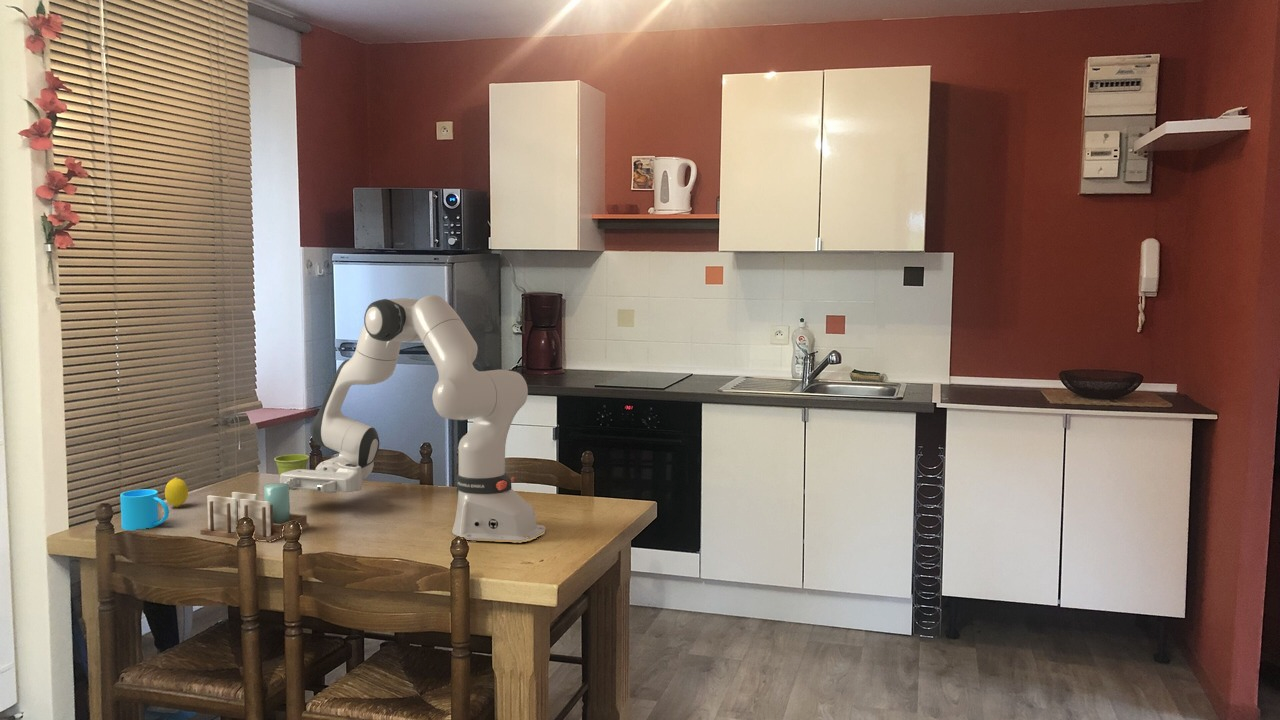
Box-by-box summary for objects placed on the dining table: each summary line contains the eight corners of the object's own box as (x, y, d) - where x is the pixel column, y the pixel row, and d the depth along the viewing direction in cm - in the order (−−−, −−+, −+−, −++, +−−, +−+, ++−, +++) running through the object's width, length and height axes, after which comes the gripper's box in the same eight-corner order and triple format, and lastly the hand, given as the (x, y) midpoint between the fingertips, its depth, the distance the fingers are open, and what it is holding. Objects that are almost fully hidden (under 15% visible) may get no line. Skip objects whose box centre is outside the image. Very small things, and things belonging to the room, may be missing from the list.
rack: (308, 527, 246) (307, 491, 245) (270, 542, 233) (269, 504, 232) (241, 519, 252) (240, 484, 251) (200, 534, 239) (199, 496, 238)
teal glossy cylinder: (295, 524, 244) (293, 484, 243) (280, 530, 239) (278, 489, 238) (276, 522, 246) (274, 482, 245) (260, 528, 241) (259, 487, 240)
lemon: (169, 511, 260) (167, 480, 259) (162, 507, 264) (161, 477, 263) (191, 507, 263) (190, 477, 262) (184, 503, 267) (183, 474, 267)
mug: (113, 529, 243) (112, 496, 242) (137, 520, 251) (136, 488, 250) (157, 532, 240) (156, 499, 239) (180, 523, 248) (178, 491, 247)
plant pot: (300, 491, 282) (300, 461, 282) (269, 490, 284) (268, 460, 283) (315, 484, 292) (314, 454, 291) (284, 483, 293) (284, 453, 292)
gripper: (296, 461, 268) (266, 472, 255) (366, 466, 263) (338, 477, 250) (297, 484, 269) (266, 496, 255) (366, 490, 264) (339, 502, 251)
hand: (302, 487), depth 253 cm, fingers open, 8 cm apart
